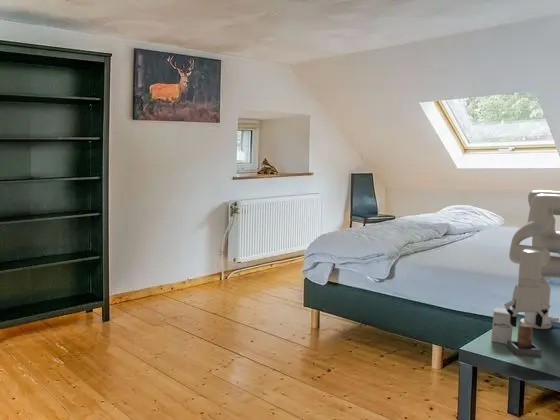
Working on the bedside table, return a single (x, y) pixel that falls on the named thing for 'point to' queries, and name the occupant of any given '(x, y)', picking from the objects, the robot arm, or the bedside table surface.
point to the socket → (524, 349)
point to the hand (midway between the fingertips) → (525, 325)
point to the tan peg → (524, 336)
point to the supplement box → (501, 326)
